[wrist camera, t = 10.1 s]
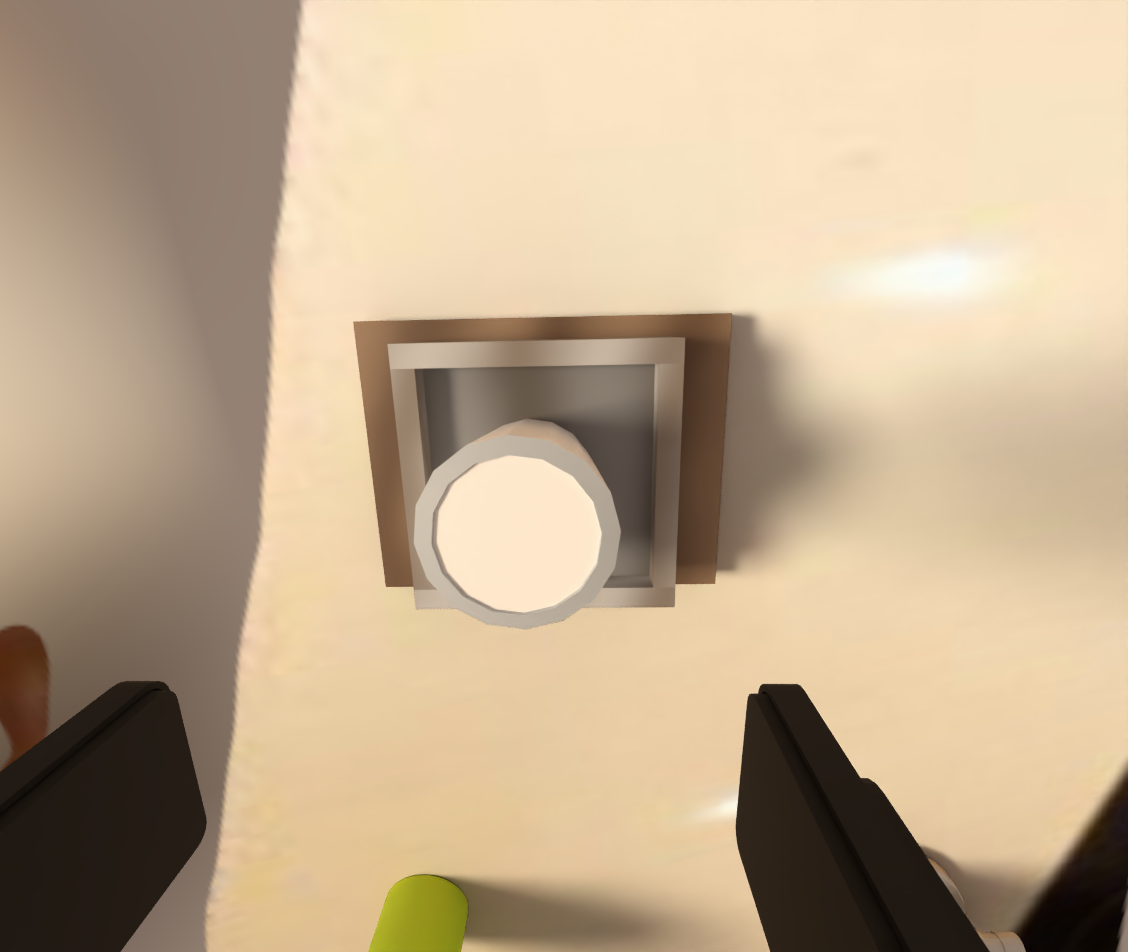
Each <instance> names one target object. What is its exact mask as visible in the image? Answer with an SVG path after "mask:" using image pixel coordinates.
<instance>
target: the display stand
mask: <svg viewBox="0 0 1128 952" xmlns="http://www.w3.org/2000/svg"><path fill="white" fill-rule="evenodd" d="M731 321H732V313H727V314H682V315H636V316H591V317H546V318H500V319H455V320H409V321H364V322H353V323H354V331H355V339H356V348H357V356H358V364H359V372H360V380H361V388H362V396H363V404H364V412H365V421H366V429H367V437H368V445H369V453H370V461H371V469H372V477H373V486H374V494H375V502H376V510H377V518H378V526H379V534H380V542H381V550H382V559H383V567H384V575H385V583H386V587H414V596H415V605H416V609H456V608H454V607H452V606H451V604H450V603H449V602H448V601H447V600H446V599H445V598H444V597H443V596H442V595H441V594H440V592H439V591H438V590H437V589H436V588H435V587H434V586H433V585H432V584H431V583H430V582H429V580H428V579H427V577H426V575H425V572H424V569H423V567H422V564H421V561H420V559H419V556H418V553H417V551H416V548H415V546H414V527H415V508H416V504H417V502H418V500H419V498H420V496H421V494H422V492H423V490H424V488H425V486H426V484H427V482H428V481H429V479H430V477H431V475H432V473H433V471H434V470H435V469H436V468H438V467H439V466H440V465H442V464H443V463H444V462H445V461H447V460H448V459H449V458H450V457H452V456H453V455H454V454H455V453H457V452H458V451H459V450H460V449H462V448H463V447H464V446H466V445H468V444H469V443H471V442H473V441H475V440H477V439H479V438H481V437H482V436H484V435H486V434H488V433H490V432H492V431H494V430H495V429H497V428H499V427H501V426H503V425H506V424H510V423H513V422H517V421H521V420H524V419H533V420H541V421H549V422H553V423H555V424H556V425H558V426H560V427H562V428H564V429H565V430H567V431H569V432H571V433H572V434H574V435H575V437H576V438H577V439H578V441H579V442H580V443H581V444H582V446H583V447H584V448H585V450H586V451H587V452H588V453H589V455H590V457H591V459H592V460H593V462H594V464H595V466H596V467H597V469H598V471H599V473H600V475H601V476H602V478H603V480H604V482H605V483H606V485H607V487H608V489H609V490H610V492H611V495H612V498H613V502H614V506H615V510H616V514H617V517H618V521H619V525H620V529H621V534H620V540H619V546H618V552H617V558H616V565H615V569H614V570H613V572H612V573H611V575H610V576H609V578H608V580H607V581H606V583H605V584H604V586H603V587H602V589H601V590H600V592H599V593H598V595H597V596H596V598H595V599H594V600H593V601H591V602H590V603H589V604H587V605H586V606H584V607H583V608H628V607H674V606H675V584H715V577H716V561H717V545H718V529H719V513H720V497H721V481H722V465H723V449H724V433H725V417H726V401H727V385H728V369H729V353H730V337H731Z"/></svg>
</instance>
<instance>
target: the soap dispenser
mask: <svg viewBox="0 0 1128 952" xmlns="http://www.w3.org/2000/svg"><path fill="white" fill-rule="evenodd" d="M467 916H468V903H467V900H466V897H465V896H464V894H463V893H462V891H461V890H460V889H459V888H458V887H457V886H455V885H454V884H453V883H451V882H449V881H447V880H445V879H443V878H440V877H436V876H431V875H416V876H411V877H407V878H405V879H403V880H401V881H399V882H397V883H396V884H395V885H394V886H393V887H392V888H391V889H390V891H389V892H388V895H387V897H386V900H385V903H384V906H383V909H382V912H381V915H380V918H379V921H378V924H377V927H376V930H375V933H374V937H373V940H372V943H371V946H370V949H369V952H461V949H462V943H463V938H464V932H465V927H466V921H467Z"/></svg>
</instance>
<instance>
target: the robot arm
mask: <svg viewBox="0 0 1128 952" xmlns="http://www.w3.org/2000/svg"><path fill="white" fill-rule="evenodd" d="M205 830H206V815H205V811H204V806H203V802H202V798H201V794H200V790H199V786H198V782H197V778H196V773H195V769H194V765H193V761H192V757H191V753H190V748H189V745H188V740H187V736H186V732H185V728H184V724H183V719H182V715H181V711H180V707H179V703H178V699H177V696H176V694H175V693H174V692H172V691H170V689H169V687H168V686H167V685H166V684H165V683H163V682H160V681H125V682H121V683H119V684H116V685H115V686H113V687H112V688H110V689H109V690H108V691H106V692H105V693H104V694H102V695H101V696H100V697H98V698H97V699H96V700H95V701H93V702H92V703H90V704H89V705H88V706H87V707H85V708H84V709H83V710H81V711H80V712H79V713H77V714H76V715H75V716H73V717H72V718H71V719H69V720H68V721H67V722H65V723H64V724H63V725H61V726H60V727H59V728H58V729H56V730H55V731H54V732H52V733H51V734H50V735H48V736H47V737H46V738H44V739H43V740H42V741H40V742H39V743H38V744H36V745H35V746H34V747H32V748H31V749H30V750H29V751H27V752H26V753H25V754H23V755H22V756H21V757H19V758H18V759H17V760H15V761H14V762H13V763H11V764H10V765H9V766H7V767H6V768H5V769H3V770H2V771H1V772H0V952H121V950H122V949H123V947H124V946H125V945H126V943H127V942H128V941H129V939H130V938H131V937H132V935H133V934H134V933H135V931H136V930H137V929H138V927H139V925H140V924H141V923H142V922H143V920H144V919H145V918H146V916H147V915H148V914H149V912H150V911H151V910H152V908H153V907H154V906H155V904H156V903H157V902H158V900H159V899H160V897H161V896H162V895H163V893H164V892H165V891H166V889H167V888H168V887H169V885H170V884H171V883H172V881H173V880H174V879H175V877H176V876H177V874H178V873H179V872H180V870H181V869H182V868H183V866H184V865H185V864H186V862H187V861H188V860H189V858H190V857H191V856H192V854H193V853H194V851H195V850H196V849H197V847H198V846H199V844H200V843H201V840H202V838H203V836H204V833H205ZM736 838H737V844H738V849H739V853H740V856H741V860H742V863H743V866H744V869H745V872H746V876H747V879H748V882H749V885H750V888H751V892H752V895H753V898H754V901H755V904H756V907H757V911H758V914H759V917H760V920H761V923H762V927H763V930H764V933H765V936H766V939H767V942H768V946H769V949H770V952H1026V951H1025V948H1024V945H1023V943H1022V942H1021V940H1020V938H1019V937H1018V936H1017V935H1016V934H1015V933H1013V932H1002V931H991V932H990V933H980V932H979V931H978V930H977V929H976V928H974V927H973V925H972V924H971V923H970V921H969V920H968V918H967V917H966V908H965V904H964V900H963V898H962V896H961V894H960V892H959V890H958V889H957V887H956V886H955V884H954V883H953V881H952V880H951V879H950V877H949V876H948V875H947V873H946V872H945V870H943V869H942V868H941V867H940V866H939V865H938V864H936V863H935V862H934V861H933V860H931V859H929V858H927V857H926V855H925V854H924V852H923V851H922V849H921V848H920V846H919V845H918V843H917V842H916V840H915V839H914V837H913V836H912V834H911V833H910V831H909V830H908V828H907V827H906V825H905V824H904V822H903V821H902V819H901V818H900V817H899V815H898V814H897V812H896V811H895V809H894V808H893V806H892V805H891V803H890V802H889V800H888V799H887V797H886V796H885V794H884V793H883V792H882V790H881V789H880V788H879V787H878V785H877V784H876V783H874V782H873V781H871V780H870V779H868V778H860V777H859V775H858V774H857V772H856V770H855V769H854V767H853V766H852V764H851V763H850V761H849V759H848V758H847V756H846V755H845V753H844V752H843V750H842V749H841V747H840V745H839V744H838V742H837V741H836V739H835V738H834V736H833V734H832V733H831V731H830V730H829V728H828V727H827V725H826V724H825V722H824V720H823V719H822V717H821V716H820V714H819V713H818V711H817V709H816V708H815V706H814V705H813V703H812V702H811V700H810V699H809V697H808V695H807V694H806V692H805V691H804V689H803V688H802V687H801V686H800V685H798V684H762V685H761V686H760V688H759V692H758V694H749V696H748V701H747V710H746V721H745V732H744V742H743V753H742V764H741V775H740V785H739V796H738V807H737V817H736Z"/></svg>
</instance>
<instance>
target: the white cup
mask: <svg viewBox="0 0 1128 952" xmlns="http://www.w3.org/2000/svg"><path fill="white" fill-rule="evenodd" d="M620 534H621V529H620V525H619V521H618V517H617V514H616V510H615V506H614V502H613V498H612V495H611V492H610V490H609V489H608V487H607V485H606V483H605V482H604V480H603V478H602V476H601V475H600V473H599V471H598V469H597V467H596V466H595V464H594V462H593V460H592V459H591V457H590V455H589V453H588V452H587V451H586V450H585V448H584V447H583V446H582V444H581V443H580V442H579V441H578V439H577V438H576V437H575V435H574V434H572V433H571V432H569V431H567V430H565V429H564V428H562V427H560V426H558V425H556V424H555V423H553V422H549V421H541V420H533V419H524V420H521V421H517V422H513V423H510V424H506V425H503V426H501V427H499V428H497V429H495V430H494V431H492V432H490V433H488V434H486V435H484V436H482V437H481V438H479V439H477V440H475V441H473V442H471V443H469V444H468V445H466V446H464V447H463V448H462V449H460V450H459V451H458V452H457V453H455V454H454V455H453V456H452V457H450V458H449V459H448V460H447V461H445V462H444V463H443V464H442V465H440V466H439V467H438V468H436V469H435V470H434V471H433V473H432V475H431V477H430V479H429V481H428V482H427V484H426V486H425V488H424V490H423V492H422V494H421V496H420V498H419V500H418V502H417V504H416V508H415V527H414V546H415V548H416V551H417V553H418V556H419V559H420V561H421V564H422V567H423V569H424V572H425V575H426V577H427V579H428V580H429V582H430V583H431V584H432V585H433V586H434V587H435V588H436V589H437V590H438V591H439V592H440V594H441V595H442V596H443V597H444V598H445V599H446V600H447V601H448V602H449V603H450V604H451V606H452V607H454V608H456V609H458V610H460V611H462V612H464V613H465V614H467V615H469V616H471V617H473V618H475V619H477V620H479V621H481V622H483V623H485V624H487V625H494V626H502V627H511V628H519V629H530V628H534V627H538V626H543V625H547V624H551V623H555V622H560V621H564V620H565V619H567V618H568V617H569V616H571V615H572V614H574V613H575V612H577V611H578V610H580V609H581V608H583V607H584V606H586V605H587V604H589V603H590V602H591V601H593V600H594V599H595V598H596V596H597V595H598V593H599V592H600V590H601V589H602V587H603V586H604V584H605V583H606V581H607V580H608V578H609V576H610V575H611V573H612V572H613V570H614V569H615V565H616V558H617V552H618V546H619V540H620Z"/></svg>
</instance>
